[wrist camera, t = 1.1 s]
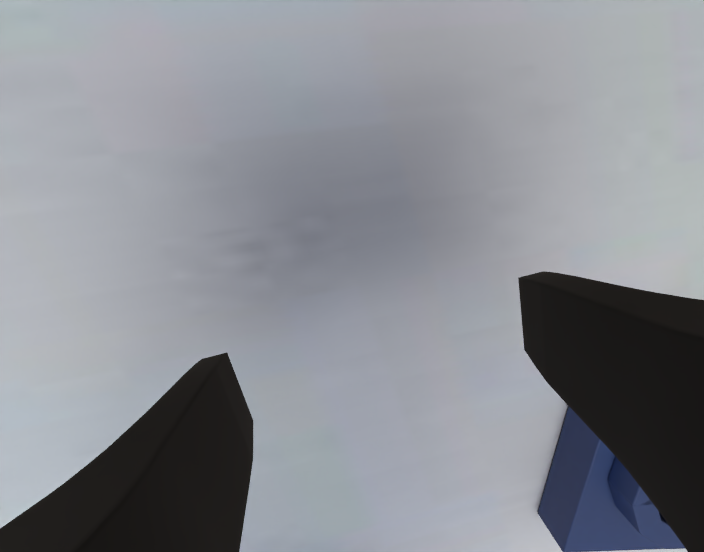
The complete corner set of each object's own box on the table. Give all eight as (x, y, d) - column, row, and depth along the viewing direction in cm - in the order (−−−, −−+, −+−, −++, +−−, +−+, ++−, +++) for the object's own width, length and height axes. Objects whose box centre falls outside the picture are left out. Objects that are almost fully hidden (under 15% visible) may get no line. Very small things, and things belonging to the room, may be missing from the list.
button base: (680, 510, 28) (750, 577, 24) (536, 513, 26) (583, 585, 22) (750, 339, 24) (846, 382, 20) (589, 331, 23) (657, 375, 19)
